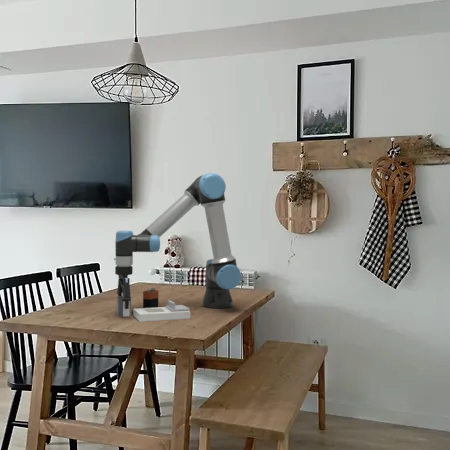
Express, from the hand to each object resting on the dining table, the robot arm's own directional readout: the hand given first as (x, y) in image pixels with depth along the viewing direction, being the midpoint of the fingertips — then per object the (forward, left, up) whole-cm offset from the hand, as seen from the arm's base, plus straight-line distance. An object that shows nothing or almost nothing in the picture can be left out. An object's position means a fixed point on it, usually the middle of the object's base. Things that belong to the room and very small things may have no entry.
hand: (123, 313), depth 229 cm
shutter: (-22, +9, +3) cm, 24 cm away
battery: (-14, -8, -1) cm, 16 cm away
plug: (0, 0, -1) cm, 1 cm away
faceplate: (-15, +9, -1) cm, 18 cm away
